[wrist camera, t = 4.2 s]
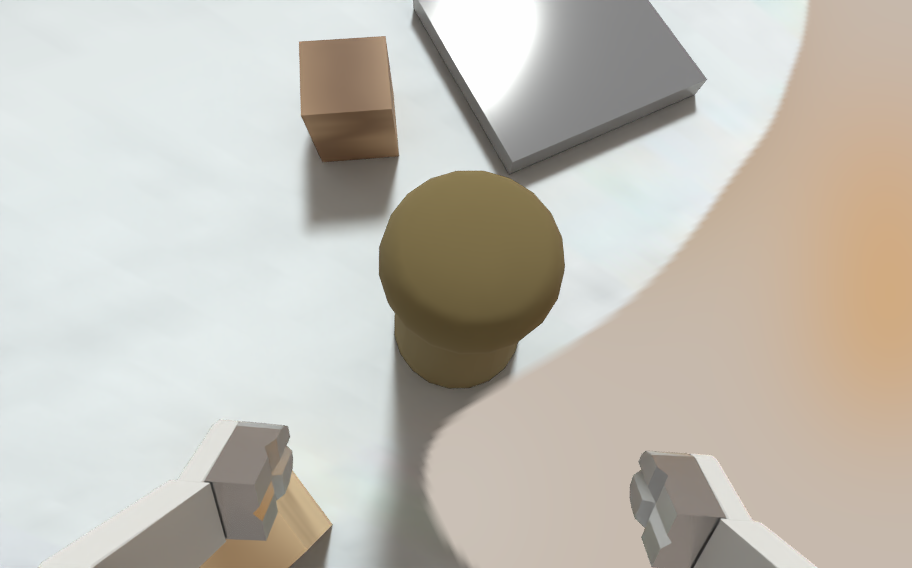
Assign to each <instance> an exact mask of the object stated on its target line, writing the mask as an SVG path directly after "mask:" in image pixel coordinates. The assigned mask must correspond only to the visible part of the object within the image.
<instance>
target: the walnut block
mask: <svg viewBox="0 0 912 568" xmlns="http://www.w3.org/2000/svg"><path fill="white" fill-rule="evenodd" d="M299 57H300V96H301V117H302V119H303V121H304V123H305V125H306V128H307V130H308V132H309V134H310V136H311V138H312V141H313V143H314V145H315V147H316V149H317V151H318V154H319V156H320V158H321V160H322V162H332V161H345V160H358V159H370V158H383V157H396V156H399V151H398V139H397V128H396V117H395V106H394V95H393V87H392V80H391V73H390V65H389V58H388V51H387V44H386V37H385V36H381V37H365V38H349V39H334V40H318V41H302V42H299Z"/></svg>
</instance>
